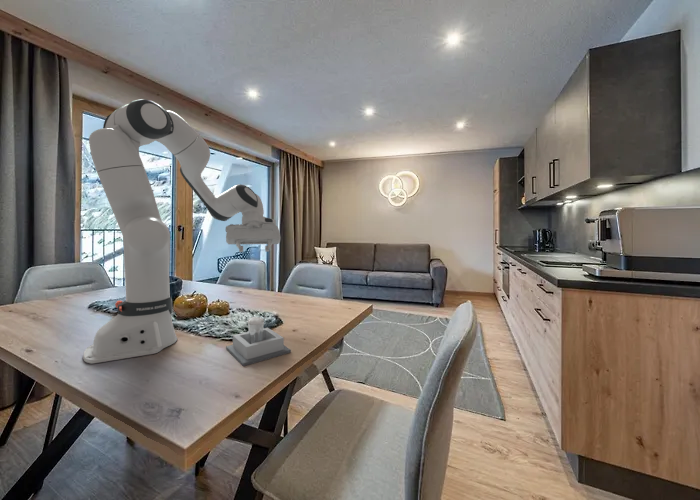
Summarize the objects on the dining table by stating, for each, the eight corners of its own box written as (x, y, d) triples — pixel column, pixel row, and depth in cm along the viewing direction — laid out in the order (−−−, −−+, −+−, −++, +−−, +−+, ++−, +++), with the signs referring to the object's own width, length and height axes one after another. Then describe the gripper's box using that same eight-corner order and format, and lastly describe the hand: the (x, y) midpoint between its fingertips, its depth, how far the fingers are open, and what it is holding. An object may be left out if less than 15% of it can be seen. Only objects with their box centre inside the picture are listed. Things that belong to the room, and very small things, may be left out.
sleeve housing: (243, 366, 77) (242, 350, 77) (226, 348, 88) (225, 334, 88) (290, 352, 86) (290, 338, 86) (270, 338, 97) (270, 325, 97)
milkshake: (261, 352, 84) (261, 318, 83) (244, 350, 85) (244, 316, 85) (269, 346, 89) (269, 313, 88) (253, 344, 90) (253, 312, 89)
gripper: (225, 218, 114) (224, 245, 106) (279, 219, 121) (282, 245, 113) (226, 230, 119) (225, 256, 110) (278, 230, 126) (280, 255, 117)
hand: (254, 250), depth 111 cm, fingers open, 8 cm apart
